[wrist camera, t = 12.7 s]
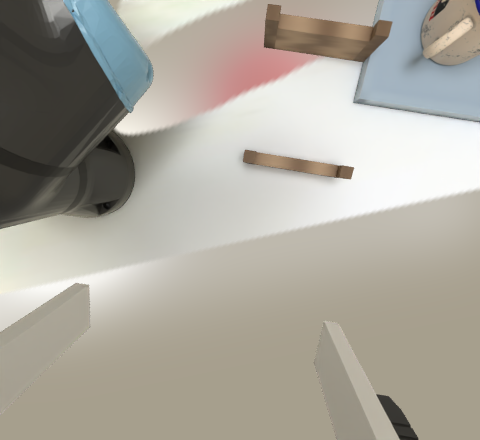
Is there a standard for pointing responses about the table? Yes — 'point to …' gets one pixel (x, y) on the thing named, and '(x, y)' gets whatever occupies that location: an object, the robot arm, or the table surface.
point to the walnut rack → (324, 44)
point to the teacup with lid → (452, 31)
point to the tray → (416, 69)
